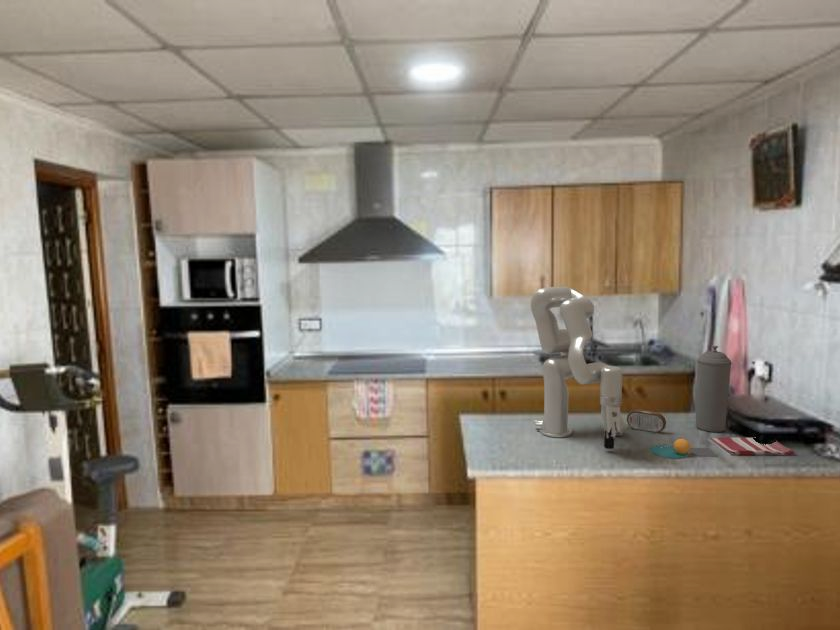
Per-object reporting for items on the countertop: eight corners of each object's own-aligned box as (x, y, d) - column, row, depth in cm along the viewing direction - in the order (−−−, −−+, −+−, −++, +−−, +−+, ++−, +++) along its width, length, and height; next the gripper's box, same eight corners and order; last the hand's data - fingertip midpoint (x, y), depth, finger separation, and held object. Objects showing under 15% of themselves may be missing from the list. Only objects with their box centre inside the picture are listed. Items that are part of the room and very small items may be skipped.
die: (622, 441, 220) (633, 419, 222) (603, 429, 221) (613, 408, 223) (615, 441, 228) (625, 420, 230) (596, 430, 229) (607, 410, 231)
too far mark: (695, 456, 201) (695, 455, 201) (686, 448, 209) (686, 447, 209) (718, 456, 201) (718, 455, 201) (708, 448, 209) (708, 447, 209)
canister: (694, 431, 228) (698, 347, 223) (692, 422, 239) (696, 342, 235) (729, 435, 223) (734, 349, 219) (725, 425, 235) (730, 344, 230)
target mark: (648, 455, 203) (648, 454, 203) (651, 443, 214) (651, 443, 214) (688, 460, 197) (688, 460, 197) (688, 448, 209) (688, 448, 209)
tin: (665, 432, 227) (666, 412, 226) (664, 435, 224) (665, 414, 223) (627, 426, 235) (628, 407, 234) (625, 428, 232) (626, 409, 231)
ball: (696, 448, 201) (686, 460, 202) (687, 440, 206) (676, 451, 207) (687, 441, 199) (676, 452, 200) (678, 433, 205) (667, 444, 206)
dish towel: (795, 457, 201) (796, 450, 201) (730, 457, 201) (731, 450, 201) (767, 440, 218) (767, 434, 218) (707, 441, 218) (707, 434, 218)
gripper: (627, 405, 197) (625, 455, 199) (614, 394, 212) (613, 440, 214) (606, 405, 197) (604, 455, 199) (594, 394, 212) (593, 440, 214)
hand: (609, 447), depth 207 cm, fingers closed
